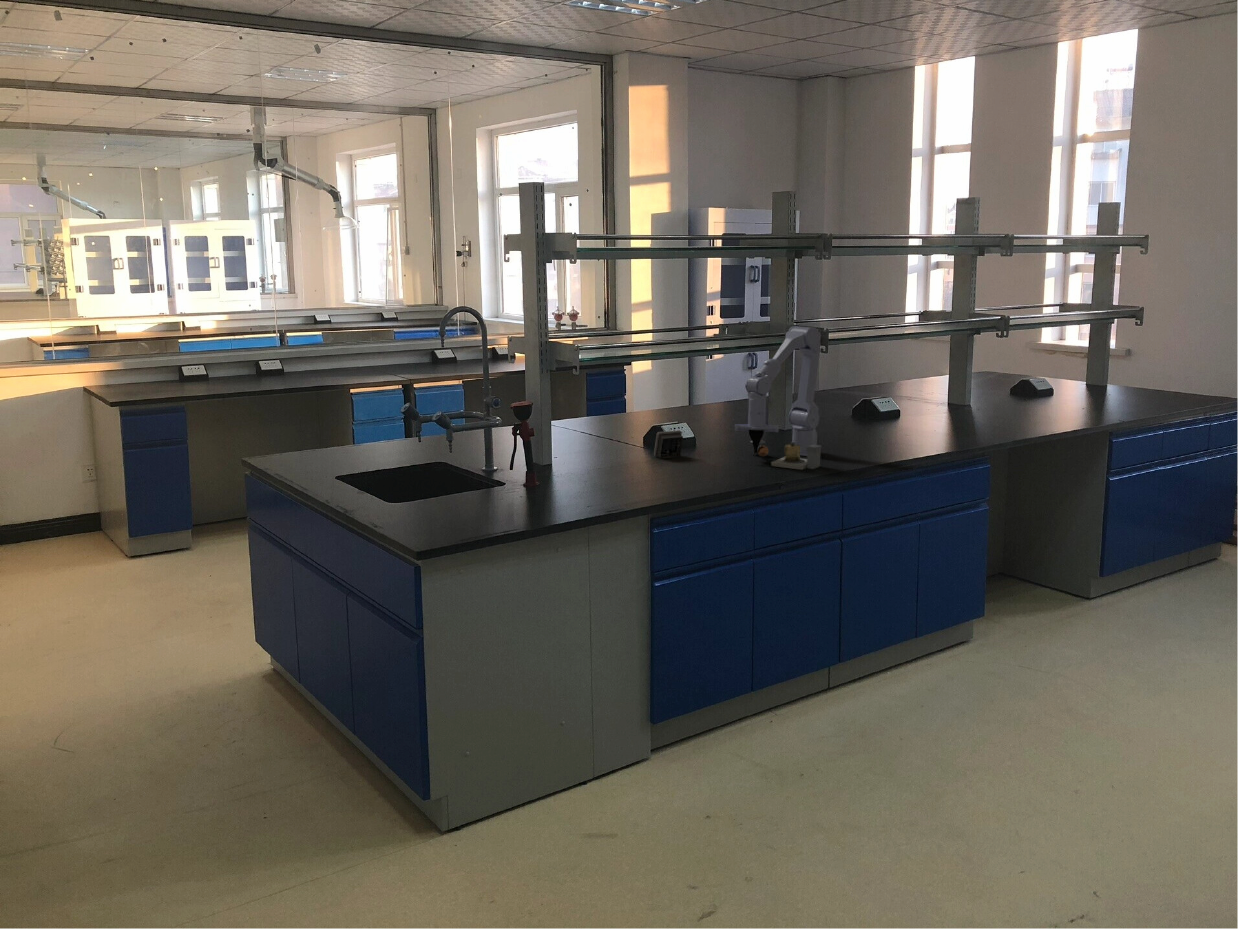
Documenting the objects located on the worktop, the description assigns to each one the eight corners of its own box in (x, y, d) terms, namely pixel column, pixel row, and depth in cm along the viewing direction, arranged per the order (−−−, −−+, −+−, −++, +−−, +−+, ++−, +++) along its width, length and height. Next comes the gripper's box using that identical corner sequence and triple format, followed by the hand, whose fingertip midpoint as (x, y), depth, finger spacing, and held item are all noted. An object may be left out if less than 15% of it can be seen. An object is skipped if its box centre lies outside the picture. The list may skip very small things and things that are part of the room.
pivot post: (753, 453, 355) (754, 433, 354) (766, 454, 352) (767, 434, 351) (747, 455, 351) (747, 435, 349) (760, 457, 348) (761, 437, 347)
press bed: (785, 459, 344) (786, 439, 342) (824, 464, 336) (825, 443, 335) (771, 465, 335) (771, 444, 333) (811, 470, 327) (812, 449, 326)
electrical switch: (677, 454, 353) (678, 428, 351) (684, 458, 349) (685, 432, 346) (653, 457, 350) (654, 430, 347) (659, 461, 345) (660, 434, 343)
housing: (787, 458, 340) (787, 440, 338) (801, 459, 337) (802, 441, 336) (782, 461, 335) (783, 443, 334) (797, 462, 333) (797, 444, 332)
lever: (753, 451, 349) (753, 441, 349) (763, 451, 350) (763, 441, 349) (758, 457, 340) (758, 446, 339) (769, 457, 340) (769, 446, 339)
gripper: (734, 413, 336) (733, 453, 339) (778, 414, 333) (777, 455, 336) (735, 410, 343) (734, 449, 346) (779, 411, 340) (777, 451, 343)
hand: (755, 452), depth 341 cm, fingers closed
